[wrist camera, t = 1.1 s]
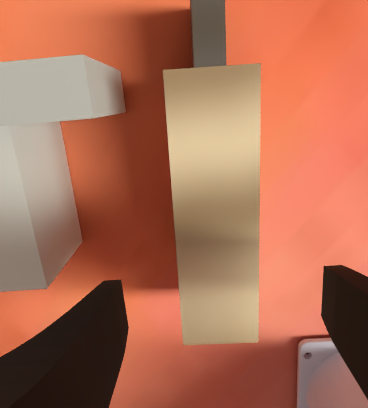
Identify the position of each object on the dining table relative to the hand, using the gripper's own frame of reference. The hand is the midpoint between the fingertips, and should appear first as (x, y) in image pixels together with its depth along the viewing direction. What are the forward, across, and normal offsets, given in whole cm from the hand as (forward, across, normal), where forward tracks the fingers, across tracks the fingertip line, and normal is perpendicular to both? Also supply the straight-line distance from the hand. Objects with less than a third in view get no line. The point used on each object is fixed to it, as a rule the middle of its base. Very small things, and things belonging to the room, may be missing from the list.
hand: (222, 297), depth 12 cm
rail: (+8, 0, -3) cm, 8 cm away
